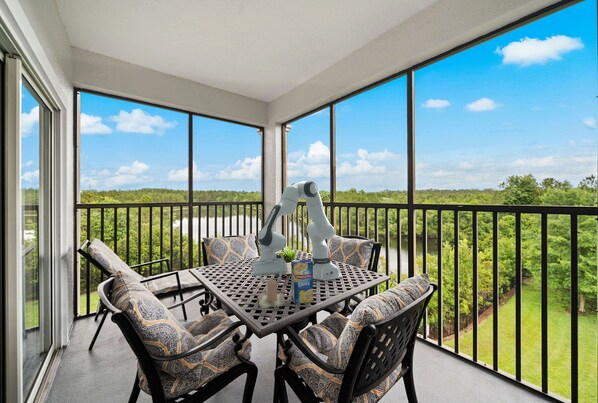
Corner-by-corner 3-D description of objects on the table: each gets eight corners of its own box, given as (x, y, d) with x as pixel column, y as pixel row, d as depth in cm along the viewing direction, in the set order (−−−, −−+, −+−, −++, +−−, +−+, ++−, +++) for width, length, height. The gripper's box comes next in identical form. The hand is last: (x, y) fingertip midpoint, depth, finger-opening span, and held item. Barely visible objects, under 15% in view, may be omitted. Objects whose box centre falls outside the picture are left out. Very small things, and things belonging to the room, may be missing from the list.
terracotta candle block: (275, 296, 146) (275, 279, 146) (277, 300, 141) (277, 282, 141) (266, 298, 145) (265, 280, 145) (267, 301, 140) (267, 283, 139)
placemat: (281, 295, 152) (281, 293, 152) (286, 305, 138) (286, 303, 138) (257, 297, 148) (257, 295, 148) (260, 308, 135) (260, 306, 135)
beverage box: (291, 298, 147) (291, 260, 146) (310, 296, 149) (309, 259, 148) (294, 303, 140) (293, 264, 139) (313, 301, 142) (313, 262, 142)
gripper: (251, 258, 149) (252, 280, 140) (285, 255, 154) (289, 276, 145) (250, 263, 153) (252, 285, 144) (284, 260, 158) (288, 281, 149)
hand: (271, 281), depth 144 cm, fingers open, 8 cm apart
